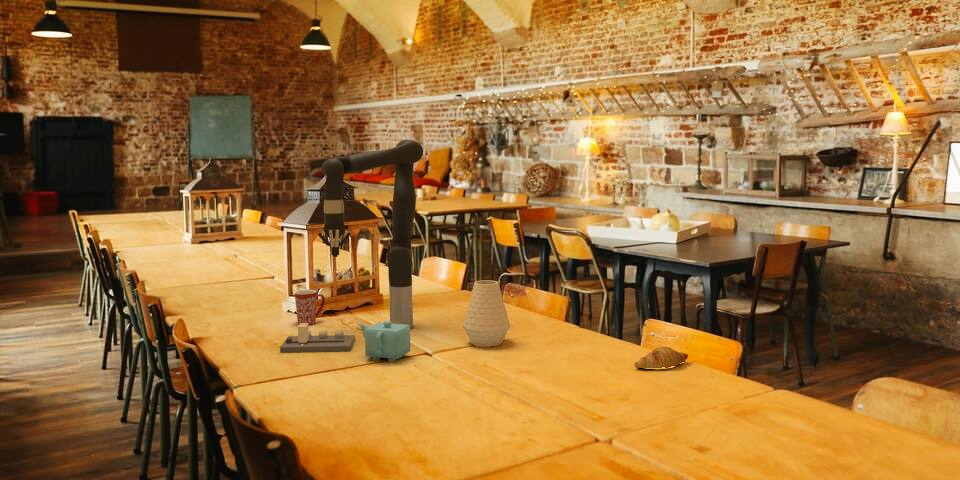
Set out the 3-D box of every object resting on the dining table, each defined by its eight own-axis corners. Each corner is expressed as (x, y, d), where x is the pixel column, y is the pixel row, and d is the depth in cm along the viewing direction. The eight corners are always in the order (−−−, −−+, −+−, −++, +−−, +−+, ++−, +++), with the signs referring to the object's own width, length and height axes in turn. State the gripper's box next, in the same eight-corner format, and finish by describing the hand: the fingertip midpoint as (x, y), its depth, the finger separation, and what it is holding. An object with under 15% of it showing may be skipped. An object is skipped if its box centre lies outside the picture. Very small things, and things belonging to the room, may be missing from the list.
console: (355, 340, 304) (354, 328, 303) (350, 351, 288) (350, 339, 287) (288, 341, 302) (288, 330, 302) (280, 352, 287) (279, 340, 286)
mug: (299, 327, 325) (298, 294, 323) (292, 322, 333) (291, 291, 331) (329, 323, 331) (328, 291, 329) (321, 319, 339) (320, 288, 337)
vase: (517, 340, 302) (517, 280, 299) (498, 351, 286) (498, 288, 283) (475, 335, 309) (474, 277, 306) (455, 346, 293) (454, 284, 290)
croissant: (640, 383, 260) (647, 365, 256) (624, 362, 267) (630, 344, 263) (691, 373, 269) (699, 355, 265) (674, 353, 276) (681, 335, 272)
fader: (309, 339, 296) (308, 322, 295) (306, 342, 291) (306, 326, 290) (300, 339, 295) (300, 323, 295) (298, 342, 290) (297, 326, 290)
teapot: (413, 353, 284) (412, 318, 283) (394, 365, 270) (393, 328, 268) (367, 349, 290) (366, 314, 288) (346, 361, 275) (345, 324, 274)
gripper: (352, 210, 308) (353, 255, 311) (318, 210, 308) (319, 255, 310) (350, 212, 301) (351, 257, 303) (314, 212, 300) (316, 258, 303)
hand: (335, 256), depth 307 cm, fingers closed
